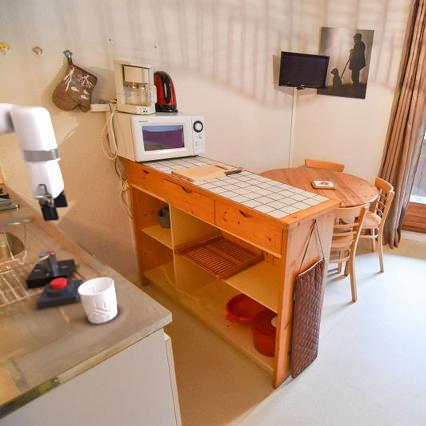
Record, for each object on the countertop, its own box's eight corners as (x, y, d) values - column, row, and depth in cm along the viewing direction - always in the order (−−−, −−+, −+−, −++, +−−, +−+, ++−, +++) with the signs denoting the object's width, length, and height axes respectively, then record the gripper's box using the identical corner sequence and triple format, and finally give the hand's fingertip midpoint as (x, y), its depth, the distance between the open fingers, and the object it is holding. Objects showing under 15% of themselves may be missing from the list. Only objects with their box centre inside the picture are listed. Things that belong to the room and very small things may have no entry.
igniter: (38, 308, 89) (34, 297, 87) (48, 290, 96) (44, 279, 94) (77, 302, 92) (74, 291, 91) (84, 284, 100) (81, 274, 98)
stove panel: (27, 288, 96) (24, 280, 95) (38, 271, 104) (36, 263, 103) (68, 282, 100) (66, 274, 99) (75, 266, 108) (73, 258, 107)
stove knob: (41, 273, 98) (35, 255, 96) (45, 266, 102) (39, 249, 99) (56, 271, 100) (51, 253, 98) (60, 264, 103) (55, 247, 101)
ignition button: (50, 290, 91) (48, 285, 90) (53, 283, 94) (52, 278, 93) (65, 288, 92) (64, 283, 91) (68, 281, 95) (67, 276, 94)
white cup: (102, 328, 84) (94, 297, 80) (78, 321, 86) (70, 290, 82) (126, 309, 91) (120, 280, 87) (104, 303, 93) (97, 274, 89)
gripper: (34, 148, 90) (49, 203, 97) (9, 163, 76) (29, 227, 83) (66, 148, 93) (79, 201, 100) (48, 162, 79) (65, 224, 86)
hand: (56, 213), depth 91 cm, fingers open, 9 cm apart
